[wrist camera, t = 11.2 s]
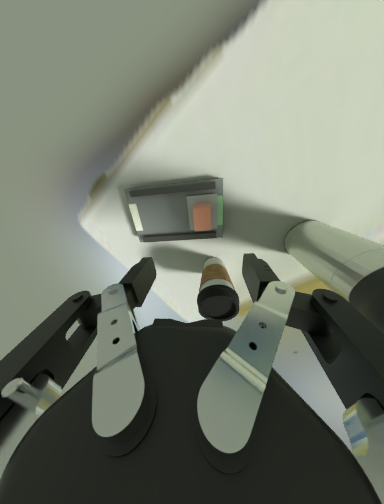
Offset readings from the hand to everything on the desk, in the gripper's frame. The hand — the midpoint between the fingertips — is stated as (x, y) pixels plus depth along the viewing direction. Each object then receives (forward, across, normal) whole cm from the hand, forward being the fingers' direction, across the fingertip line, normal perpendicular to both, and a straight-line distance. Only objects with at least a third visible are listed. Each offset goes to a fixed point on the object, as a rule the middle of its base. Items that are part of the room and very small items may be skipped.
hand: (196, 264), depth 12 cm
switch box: (+22, +6, 0) cm, 23 cm away
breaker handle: (+19, 0, -1) cm, 19 cm away
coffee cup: (+23, -2, +16) cm, 28 cm away
